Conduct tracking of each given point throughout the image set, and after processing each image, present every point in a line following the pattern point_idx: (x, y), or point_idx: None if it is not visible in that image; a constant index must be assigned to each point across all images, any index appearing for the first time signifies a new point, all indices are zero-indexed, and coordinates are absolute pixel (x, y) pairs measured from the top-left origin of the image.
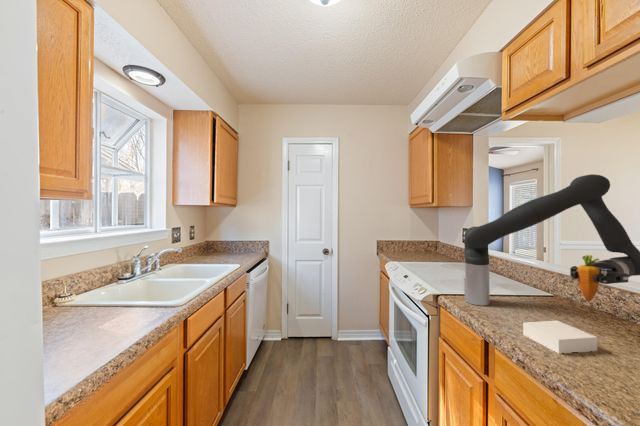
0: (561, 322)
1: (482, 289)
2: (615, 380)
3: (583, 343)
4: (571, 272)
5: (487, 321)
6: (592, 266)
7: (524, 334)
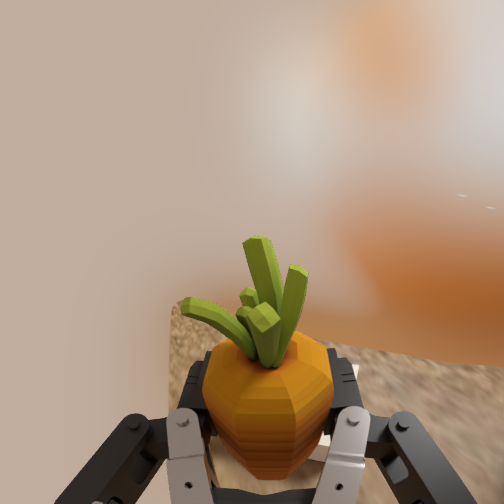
0: (323, 444)
1: None
2: (187, 354)
3: None
4: (347, 362)
5: (431, 374)
6: (236, 348)
7: None
